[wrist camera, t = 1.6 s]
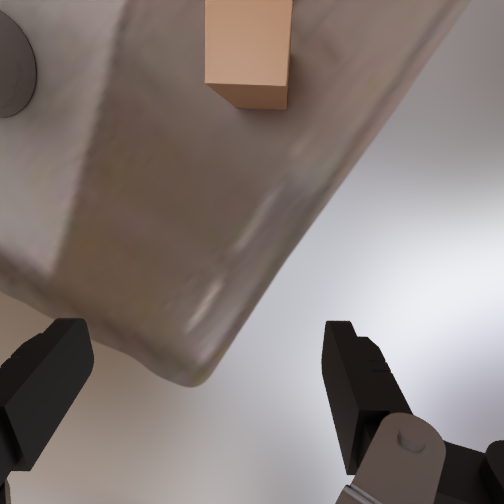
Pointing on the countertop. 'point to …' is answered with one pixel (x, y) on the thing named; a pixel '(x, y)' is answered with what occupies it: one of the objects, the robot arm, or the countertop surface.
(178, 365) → the countertop surface
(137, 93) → the countertop surface
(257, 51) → the light brown brick
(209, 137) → the countertop surface
